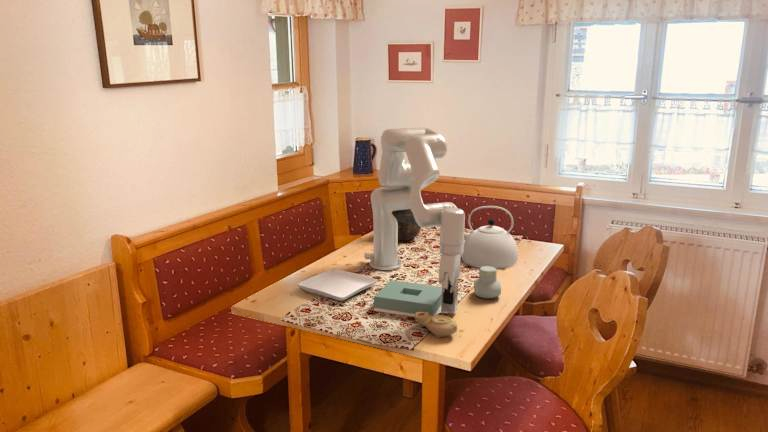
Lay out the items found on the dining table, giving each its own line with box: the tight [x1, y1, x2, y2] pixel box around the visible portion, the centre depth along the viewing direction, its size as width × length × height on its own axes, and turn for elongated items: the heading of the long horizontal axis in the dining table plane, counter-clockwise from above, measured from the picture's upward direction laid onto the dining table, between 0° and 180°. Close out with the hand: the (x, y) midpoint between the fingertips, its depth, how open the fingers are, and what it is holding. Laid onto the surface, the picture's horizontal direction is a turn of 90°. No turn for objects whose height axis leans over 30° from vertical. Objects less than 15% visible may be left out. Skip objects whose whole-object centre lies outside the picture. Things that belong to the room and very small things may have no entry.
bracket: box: [440, 280, 459, 314], centre depth 202 cm, size 4×3×10 cm, turn 69°
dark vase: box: [392, 208, 422, 242], centre depth 280 cm, size 18×18×28 cm
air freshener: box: [473, 266, 502, 299], centre depth 217 cm, size 11×8×10 cm
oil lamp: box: [414, 312, 458, 338], centre depth 190 cm, size 11×14×5 cm
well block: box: [373, 279, 442, 318], centre depth 209 cm, size 20×16×5 cm
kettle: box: [461, 205, 519, 269], centre depth 253 cm, size 25×23×23 cm
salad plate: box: [296, 268, 378, 302], centre depth 223 cm, size 21×21×3 cm
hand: (449, 300), depth 202 cm, fingers closed on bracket, 3 cm apart
